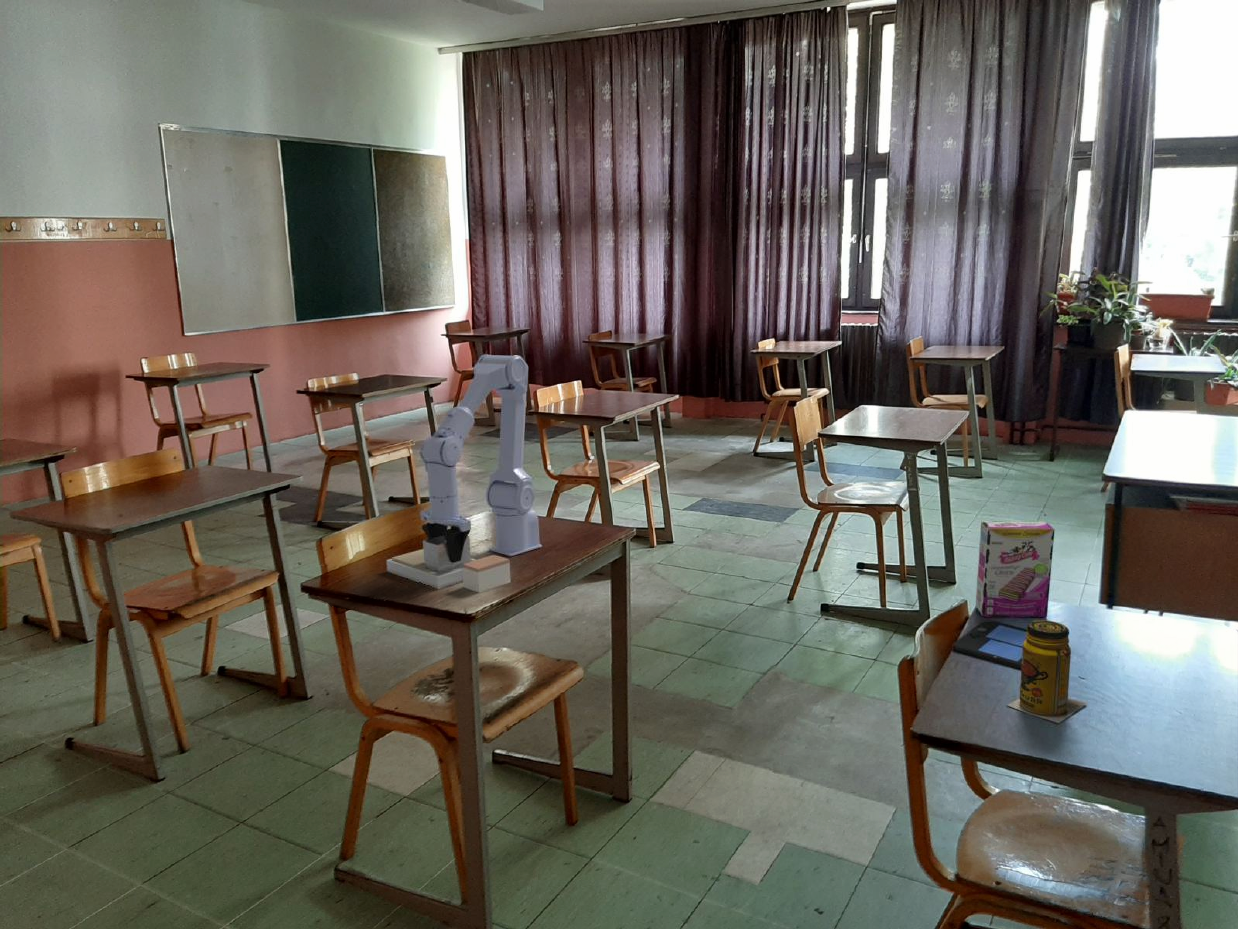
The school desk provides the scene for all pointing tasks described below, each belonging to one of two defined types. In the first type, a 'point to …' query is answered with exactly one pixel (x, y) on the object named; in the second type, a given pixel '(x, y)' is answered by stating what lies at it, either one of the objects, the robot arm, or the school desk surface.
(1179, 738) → the school desk surface
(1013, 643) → the game console
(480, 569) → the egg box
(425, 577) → the tray
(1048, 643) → the condiment
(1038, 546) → the candy bar box
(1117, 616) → the school desk surface
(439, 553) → the steel block
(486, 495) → the robot arm
